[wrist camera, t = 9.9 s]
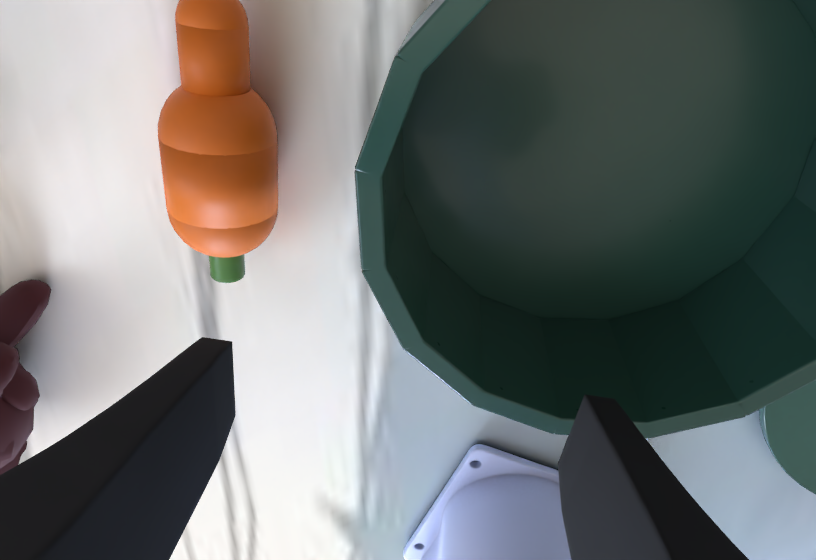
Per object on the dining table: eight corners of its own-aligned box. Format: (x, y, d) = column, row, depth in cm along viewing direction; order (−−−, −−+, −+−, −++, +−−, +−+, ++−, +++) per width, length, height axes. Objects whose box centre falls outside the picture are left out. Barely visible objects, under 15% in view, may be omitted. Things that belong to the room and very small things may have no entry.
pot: (657, 371, 24) (711, 491, 19) (331, 247, 22) (291, 341, 17) (949, 23, 16) (1169, 60, 11) (497, -206, 15) (516, -283, 10)
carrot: (208, 243, 23) (293, 262, 22) (153, 289, 20) (251, 311, 19) (187, -26, 18) (296, -10, 17) (109, -22, 15) (239, -2, 14)
